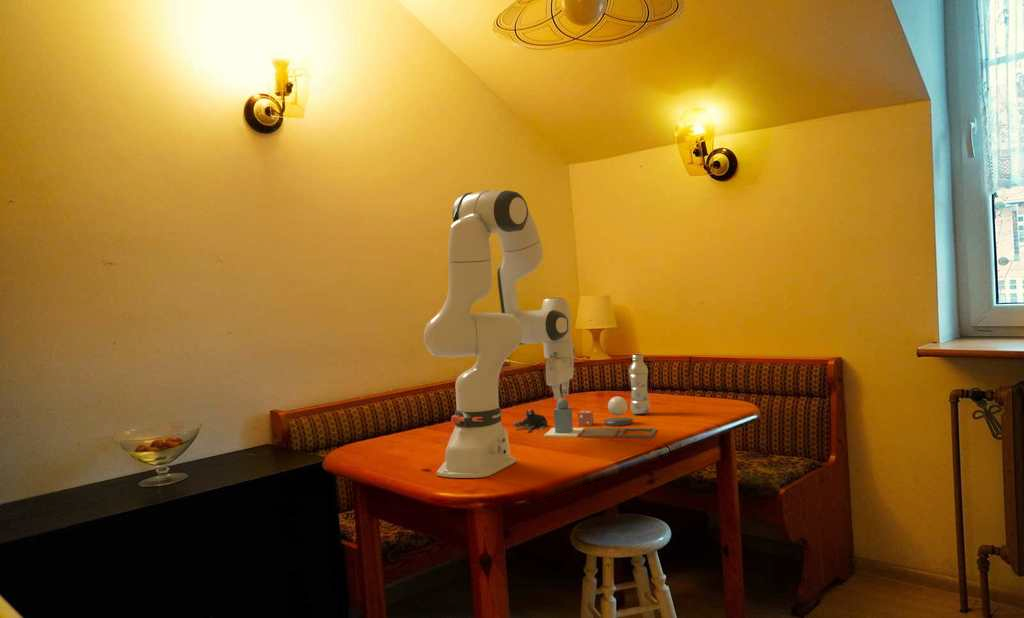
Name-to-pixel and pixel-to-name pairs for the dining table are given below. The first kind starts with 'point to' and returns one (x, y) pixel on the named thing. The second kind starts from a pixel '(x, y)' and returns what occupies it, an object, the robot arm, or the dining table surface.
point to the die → (585, 418)
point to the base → (618, 421)
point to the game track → (601, 432)
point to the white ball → (617, 406)
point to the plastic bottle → (639, 385)
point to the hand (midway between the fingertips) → (561, 397)
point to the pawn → (563, 417)
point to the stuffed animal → (532, 421)
